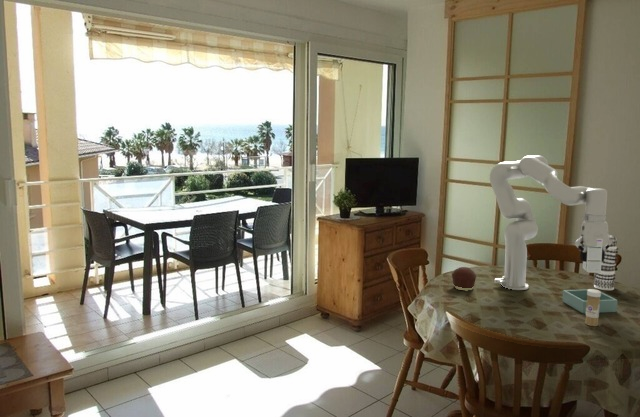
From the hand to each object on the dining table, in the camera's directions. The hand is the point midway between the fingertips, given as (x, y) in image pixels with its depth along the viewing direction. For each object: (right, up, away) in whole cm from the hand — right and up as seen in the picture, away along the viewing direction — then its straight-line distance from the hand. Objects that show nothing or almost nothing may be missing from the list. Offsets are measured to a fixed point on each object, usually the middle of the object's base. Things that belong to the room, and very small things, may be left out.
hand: (592, 260), depth 208 cm
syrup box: (0, -5, +1) cm, 5 cm away
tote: (0, -20, +3) cm, 20 cm away
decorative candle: (+21, -16, +28) cm, 39 cm away
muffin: (-45, -17, +29) cm, 56 cm away
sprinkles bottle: (-9, -23, -17) cm, 30 cm away
